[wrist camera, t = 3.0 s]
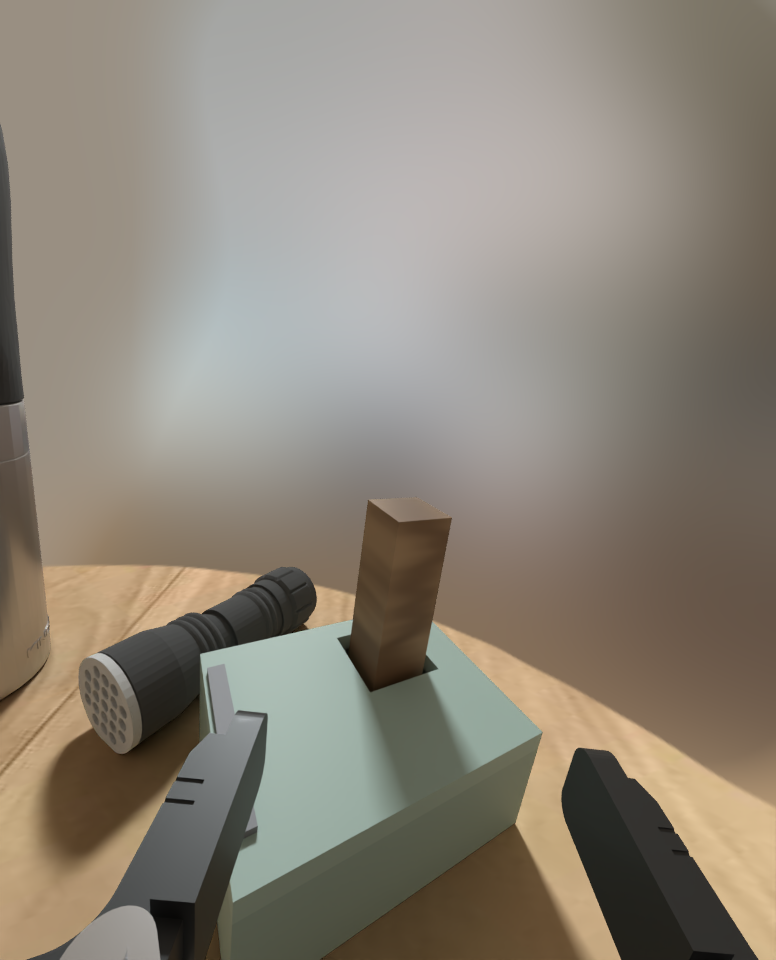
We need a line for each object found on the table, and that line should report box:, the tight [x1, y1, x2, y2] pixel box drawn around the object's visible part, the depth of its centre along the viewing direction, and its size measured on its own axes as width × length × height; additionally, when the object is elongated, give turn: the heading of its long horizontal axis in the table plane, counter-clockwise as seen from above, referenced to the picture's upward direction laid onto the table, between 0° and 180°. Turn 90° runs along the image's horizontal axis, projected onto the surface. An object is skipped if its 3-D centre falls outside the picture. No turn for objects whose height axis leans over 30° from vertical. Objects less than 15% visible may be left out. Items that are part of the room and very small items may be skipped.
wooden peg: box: [348, 497, 452, 692], centre depth 22 cm, size 3×3×14 cm
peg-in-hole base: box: [199, 620, 543, 960], centre depth 20 cm, size 14×11×6 cm
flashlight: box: [79, 567, 317, 754], centre depth 27 cm, size 15×5×5 cm, turn 151°
